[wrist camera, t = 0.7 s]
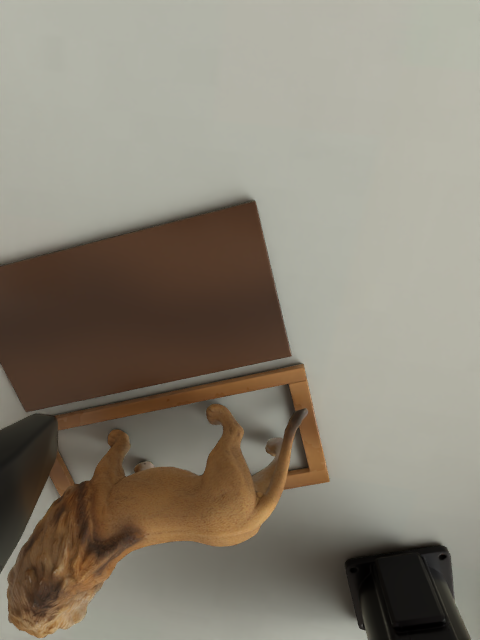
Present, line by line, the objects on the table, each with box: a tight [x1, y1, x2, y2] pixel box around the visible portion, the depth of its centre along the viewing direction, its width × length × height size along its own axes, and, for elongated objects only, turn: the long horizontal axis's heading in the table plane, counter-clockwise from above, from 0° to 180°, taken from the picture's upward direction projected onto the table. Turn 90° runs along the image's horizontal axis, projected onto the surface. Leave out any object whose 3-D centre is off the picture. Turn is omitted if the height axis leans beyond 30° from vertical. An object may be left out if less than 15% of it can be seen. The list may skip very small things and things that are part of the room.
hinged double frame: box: [0, 201, 330, 497], centre depth 24 cm, size 16×16×1 cm
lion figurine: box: [7, 404, 308, 638], centre depth 21 cm, size 15×5×9 cm, turn 115°
